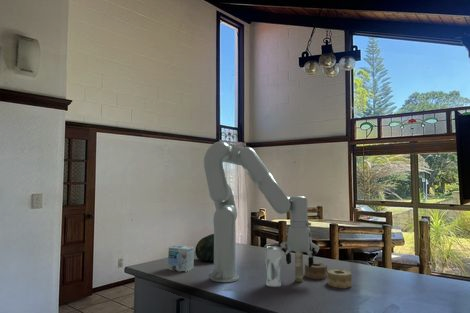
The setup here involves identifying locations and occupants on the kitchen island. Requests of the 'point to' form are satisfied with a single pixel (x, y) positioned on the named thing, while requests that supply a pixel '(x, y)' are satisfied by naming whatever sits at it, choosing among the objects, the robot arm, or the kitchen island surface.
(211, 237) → the squash
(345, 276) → the oak bead
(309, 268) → the walnut bead
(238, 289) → the kitchen island surface
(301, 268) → the cream and red cylinder
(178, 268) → the light bulb box
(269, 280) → the beer glass
